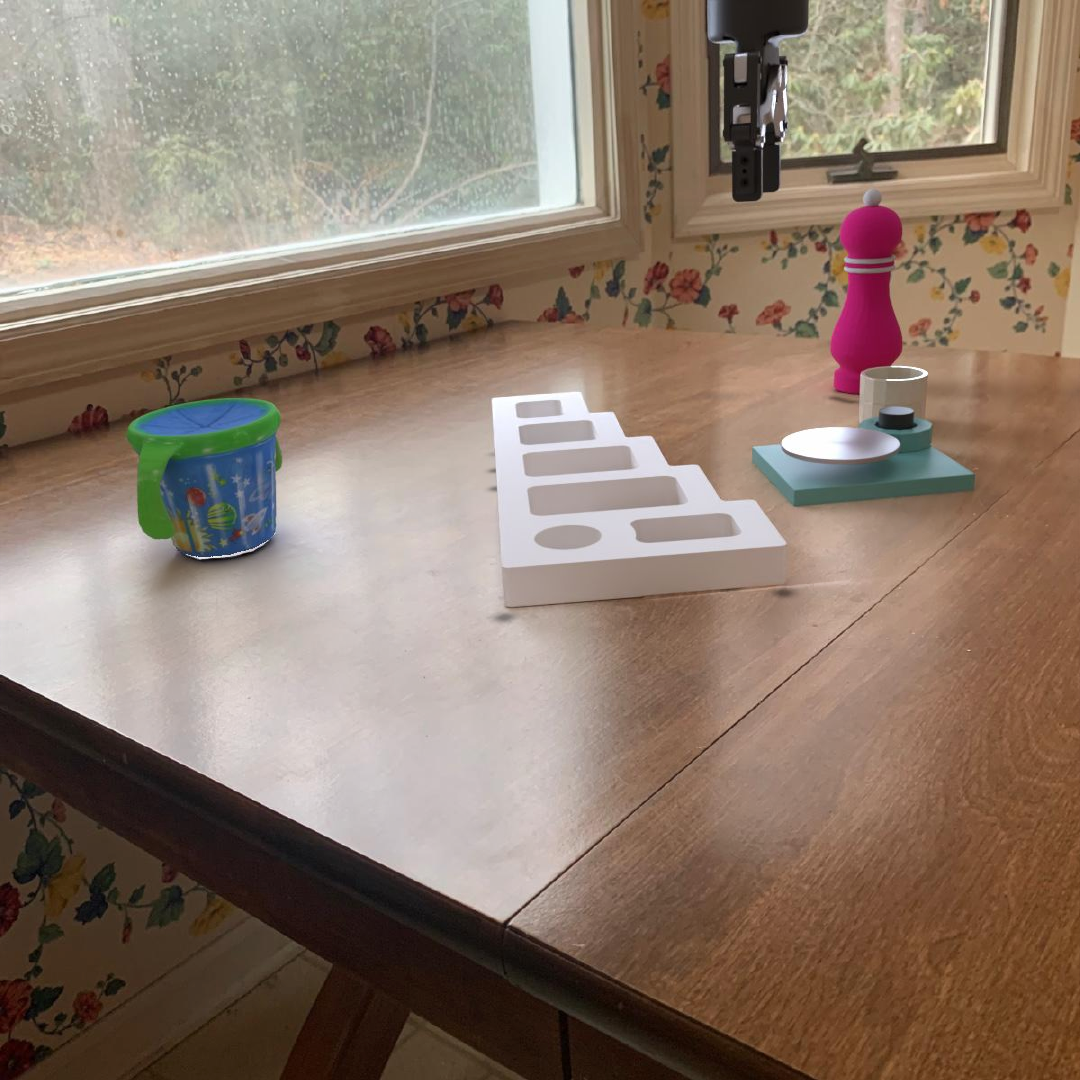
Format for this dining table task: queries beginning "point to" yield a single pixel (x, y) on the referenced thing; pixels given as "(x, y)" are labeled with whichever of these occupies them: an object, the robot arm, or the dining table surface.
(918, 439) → the scale
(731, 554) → the holder
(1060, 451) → the dining table surface
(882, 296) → the pepper mill
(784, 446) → the weighing plate
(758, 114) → the robot arm
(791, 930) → the dining table surface
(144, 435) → the snack cup
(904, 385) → the beige cup
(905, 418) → the tare button
